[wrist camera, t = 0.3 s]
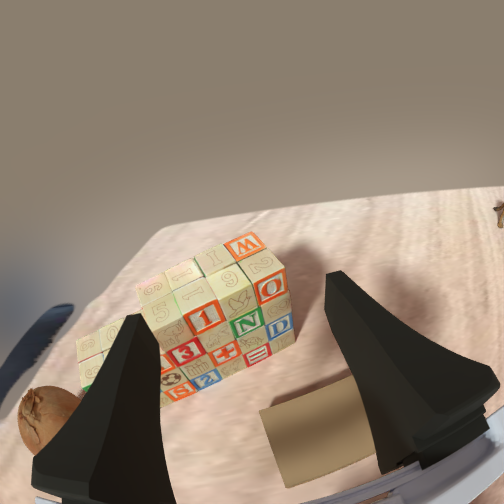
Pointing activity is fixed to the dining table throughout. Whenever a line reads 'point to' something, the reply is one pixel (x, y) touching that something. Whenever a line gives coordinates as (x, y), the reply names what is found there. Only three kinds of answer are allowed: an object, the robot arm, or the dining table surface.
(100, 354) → the stack of blocks
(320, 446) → the tan block
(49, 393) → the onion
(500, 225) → the lion figurine
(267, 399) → the dining table surface
